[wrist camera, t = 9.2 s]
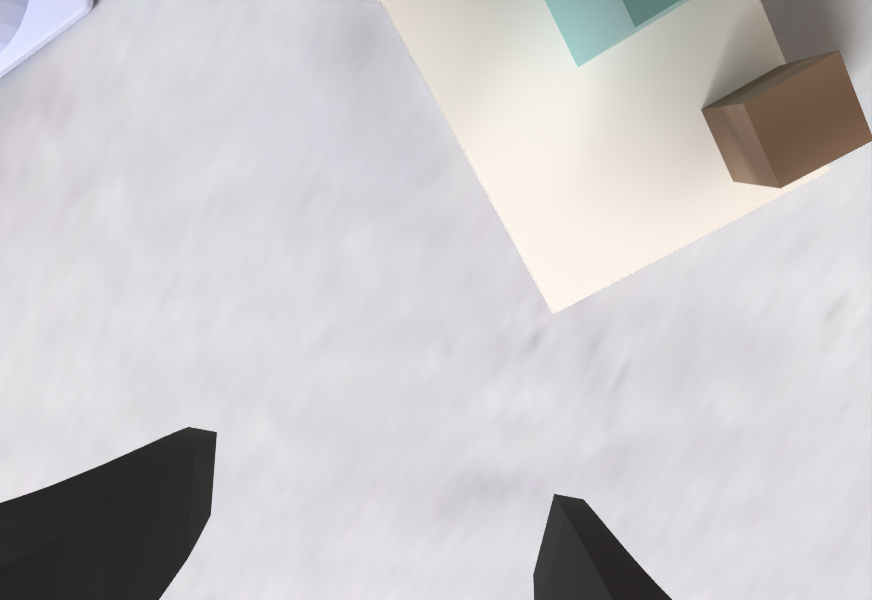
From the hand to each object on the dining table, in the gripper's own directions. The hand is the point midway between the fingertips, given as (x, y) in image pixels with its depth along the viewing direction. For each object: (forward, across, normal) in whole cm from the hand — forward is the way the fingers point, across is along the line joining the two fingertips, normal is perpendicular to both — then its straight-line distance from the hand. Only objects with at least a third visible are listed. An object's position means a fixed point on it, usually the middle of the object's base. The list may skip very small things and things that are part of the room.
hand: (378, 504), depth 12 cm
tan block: (+9, -10, -10) cm, 16 cm away
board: (+10, -4, -10) cm, 15 cm away
